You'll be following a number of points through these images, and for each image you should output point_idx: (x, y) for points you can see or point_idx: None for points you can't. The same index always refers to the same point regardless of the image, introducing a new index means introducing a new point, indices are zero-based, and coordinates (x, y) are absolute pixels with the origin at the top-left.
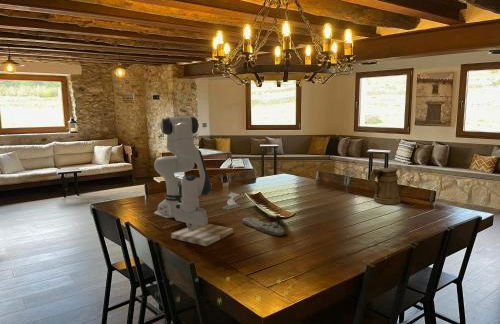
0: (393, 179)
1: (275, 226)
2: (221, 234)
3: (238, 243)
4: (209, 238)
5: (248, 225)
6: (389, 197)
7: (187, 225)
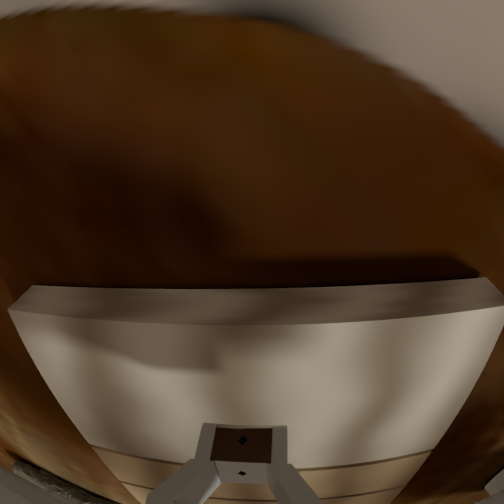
0: None
1: None
2: (97, 452)
3: (7, 392)
4: (58, 380)
5: None
6: None
7: (297, 495)
